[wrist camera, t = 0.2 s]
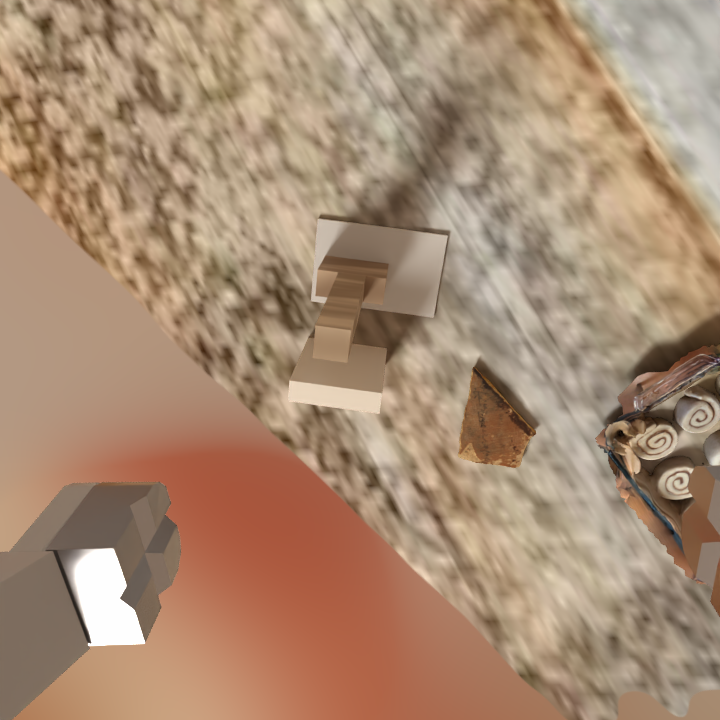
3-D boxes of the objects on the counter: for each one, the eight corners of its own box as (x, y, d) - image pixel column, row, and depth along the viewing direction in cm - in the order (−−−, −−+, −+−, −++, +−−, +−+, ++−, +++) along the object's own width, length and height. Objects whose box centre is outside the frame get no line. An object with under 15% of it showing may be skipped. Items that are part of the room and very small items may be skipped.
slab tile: (308, 337, 60) (289, 380, 51) (387, 348, 60) (382, 393, 51) (306, 356, 61) (287, 402, 52) (384, 367, 61) (379, 415, 52)
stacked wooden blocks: (325, 255, 56) (288, 321, 40) (388, 263, 56) (378, 333, 40) (323, 279, 57) (286, 354, 41) (385, 288, 57) (373, 366, 41)
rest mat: (318, 218, 55) (317, 218, 55) (447, 234, 55) (447, 235, 55) (311, 299, 59) (310, 301, 58) (433, 316, 58) (433, 317, 58)
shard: (472, 361, 61) (473, 368, 59) (547, 370, 60) (551, 378, 59) (454, 452, 65) (455, 461, 63) (525, 461, 65) (528, 470, 63)
